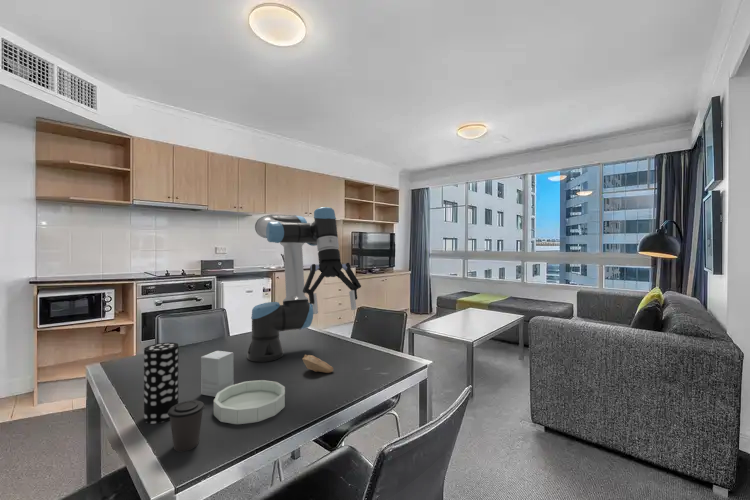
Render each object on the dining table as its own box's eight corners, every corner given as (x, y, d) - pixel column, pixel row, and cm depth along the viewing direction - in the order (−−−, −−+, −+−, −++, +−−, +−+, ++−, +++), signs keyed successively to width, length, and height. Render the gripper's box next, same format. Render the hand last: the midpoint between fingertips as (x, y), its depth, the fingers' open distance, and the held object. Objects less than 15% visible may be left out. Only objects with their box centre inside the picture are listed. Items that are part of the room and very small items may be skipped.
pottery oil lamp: (331, 377, 126) (331, 358, 126) (299, 376, 127) (299, 358, 127) (334, 368, 135) (335, 351, 135) (305, 368, 135) (305, 350, 135)
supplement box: (234, 389, 115) (234, 352, 115) (217, 398, 108) (218, 359, 108) (217, 385, 118) (217, 349, 118) (200, 394, 111) (200, 356, 111)
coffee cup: (159, 449, 81) (159, 408, 81) (190, 432, 88) (190, 394, 88) (182, 458, 78) (182, 415, 78) (212, 440, 85) (212, 400, 85)
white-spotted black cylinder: (154, 409, 100) (154, 342, 100) (183, 408, 101) (183, 342, 101) (137, 424, 92) (137, 351, 92) (169, 423, 93) (169, 351, 93)
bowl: (243, 389, 115) (243, 377, 115) (296, 396, 110) (296, 384, 110) (198, 417, 96) (198, 404, 96) (260, 428, 91) (260, 413, 91)
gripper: (295, 248, 109) (301, 314, 104) (365, 247, 120) (373, 306, 116) (290, 254, 115) (295, 316, 110) (356, 252, 127) (364, 309, 122)
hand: (335, 311), depth 113 cm, fingers open, 13 cm apart
